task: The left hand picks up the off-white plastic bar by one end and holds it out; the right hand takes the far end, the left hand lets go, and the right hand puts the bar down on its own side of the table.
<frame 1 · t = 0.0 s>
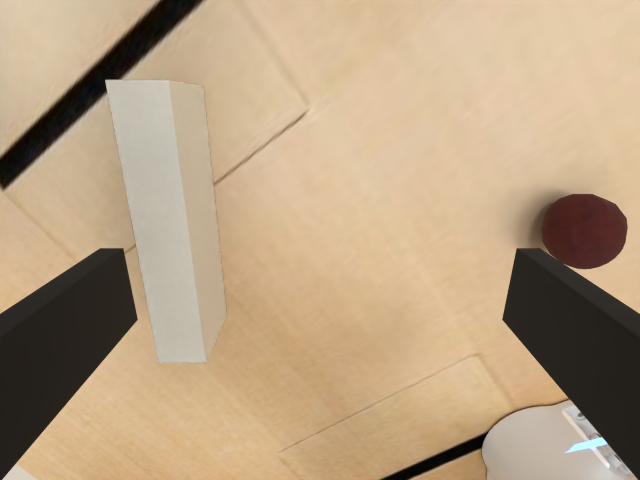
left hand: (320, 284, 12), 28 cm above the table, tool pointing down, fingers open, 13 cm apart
bar: (194, 213, 41), on the table
dark maroon ball: (560, 219, 41), on the table
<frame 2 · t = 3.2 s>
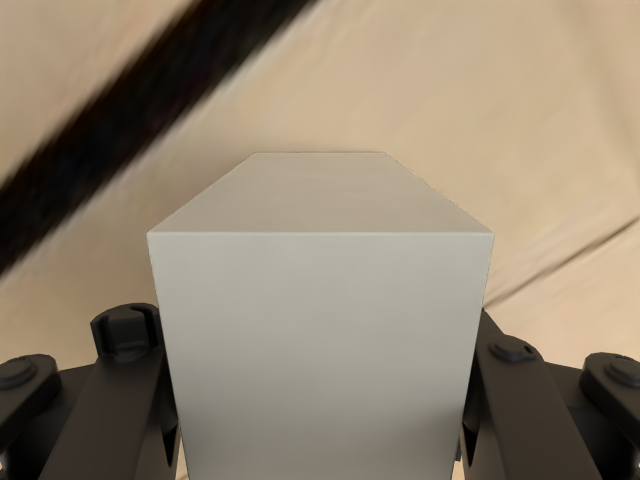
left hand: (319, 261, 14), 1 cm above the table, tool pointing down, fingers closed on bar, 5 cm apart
bar: (320, 425, 18), on the table, touching left hand
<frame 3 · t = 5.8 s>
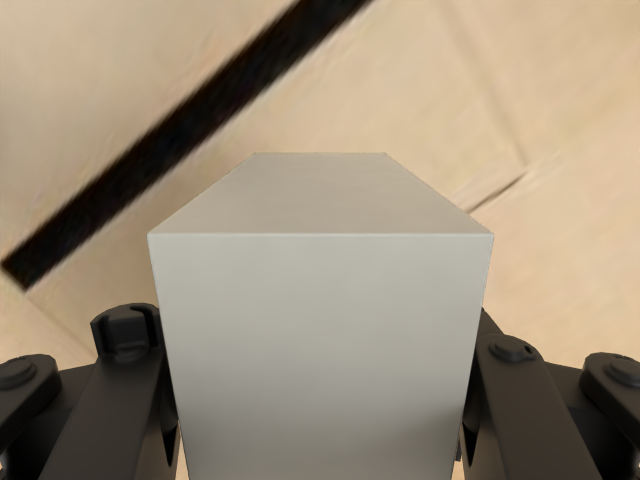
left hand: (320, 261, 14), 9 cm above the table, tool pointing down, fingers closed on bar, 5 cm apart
bar: (320, 425, 18), point 9 cm above the table, touching left hand
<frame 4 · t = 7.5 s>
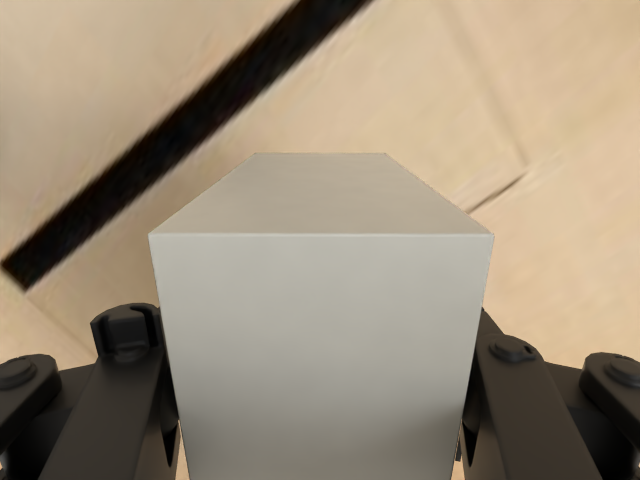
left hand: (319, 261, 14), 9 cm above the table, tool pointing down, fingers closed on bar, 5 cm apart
bar: (319, 425, 18), point 9 cm above the table, touching left hand, right hand
when the left hand's fingers open (9 cm above the table, at t = 8.4 s): bar stays where it is, held by the right hand.
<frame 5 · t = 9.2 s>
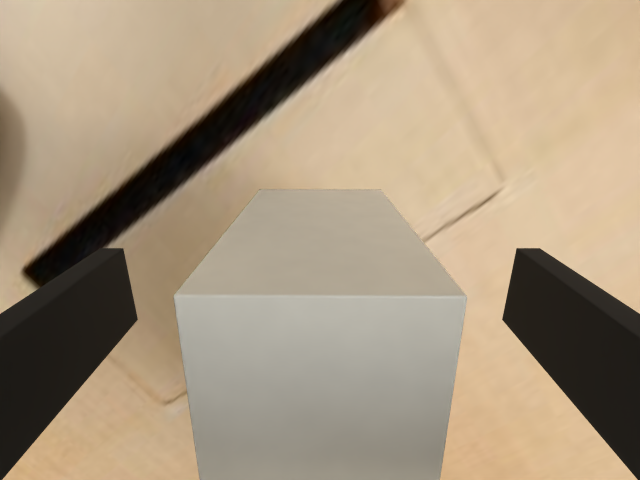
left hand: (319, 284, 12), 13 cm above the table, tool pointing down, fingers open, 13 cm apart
bar: (319, 443, 19), point 11 cm above the table, touching right hand
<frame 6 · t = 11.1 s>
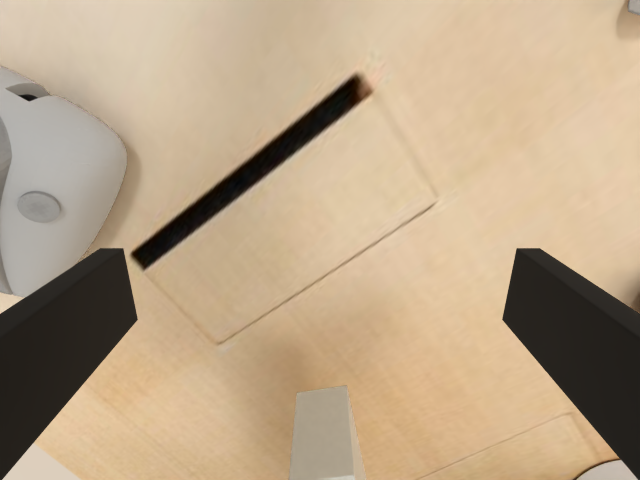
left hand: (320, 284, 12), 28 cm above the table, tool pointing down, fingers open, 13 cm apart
projector: (47, 193, 39), on the table
when the right hand's fingers open (5 cm above the table, at t = 15.0 s): bar stays where it is, on the table.
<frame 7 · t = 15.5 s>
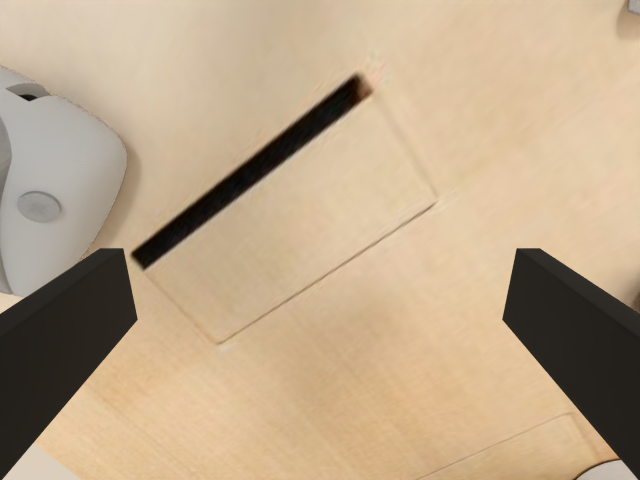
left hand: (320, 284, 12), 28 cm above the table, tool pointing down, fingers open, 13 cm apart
projector: (47, 193, 39), on the table
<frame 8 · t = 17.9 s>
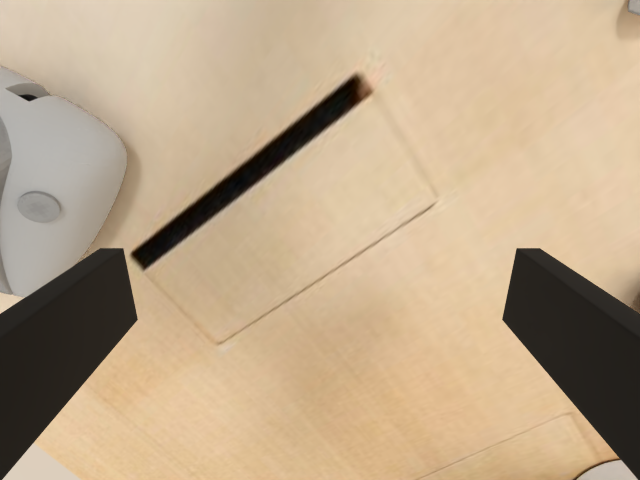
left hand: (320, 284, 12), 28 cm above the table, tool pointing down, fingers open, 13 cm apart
projector: (47, 193, 39), on the table
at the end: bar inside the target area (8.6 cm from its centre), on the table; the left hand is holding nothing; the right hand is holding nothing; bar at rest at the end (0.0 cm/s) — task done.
